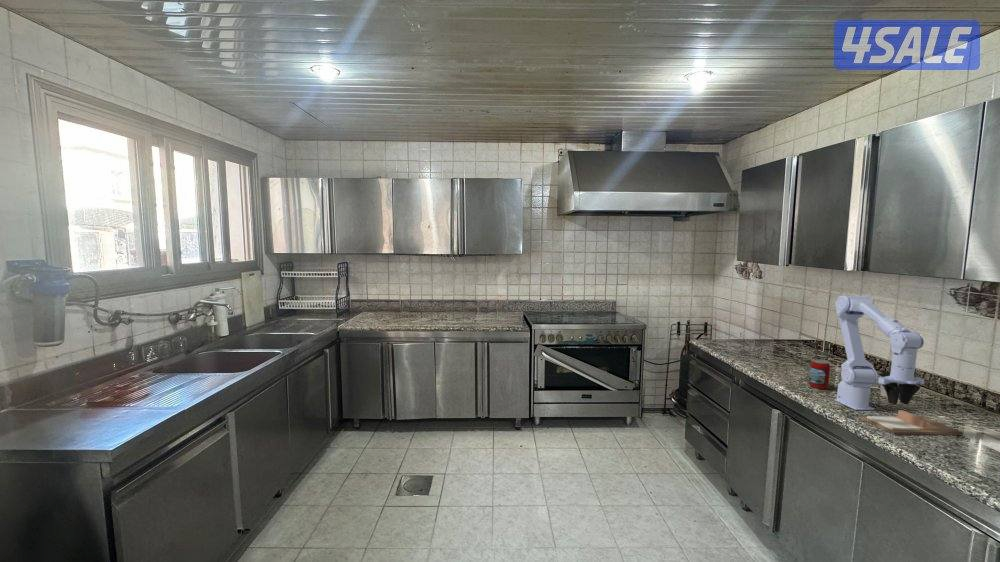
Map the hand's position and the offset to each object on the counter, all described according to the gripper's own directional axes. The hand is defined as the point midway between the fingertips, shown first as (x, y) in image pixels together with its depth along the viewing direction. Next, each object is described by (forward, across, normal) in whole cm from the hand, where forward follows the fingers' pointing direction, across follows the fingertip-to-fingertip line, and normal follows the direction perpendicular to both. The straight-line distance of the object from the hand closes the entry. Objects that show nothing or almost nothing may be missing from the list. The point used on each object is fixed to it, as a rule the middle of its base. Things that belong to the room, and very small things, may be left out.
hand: (898, 403), depth 137 cm
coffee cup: (+9, +26, +27) cm, 38 cm away
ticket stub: (+7, +8, 0) cm, 11 cm away
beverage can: (+9, +4, +37) cm, 38 cm away
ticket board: (+8, +5, 0) cm, 10 cm away
